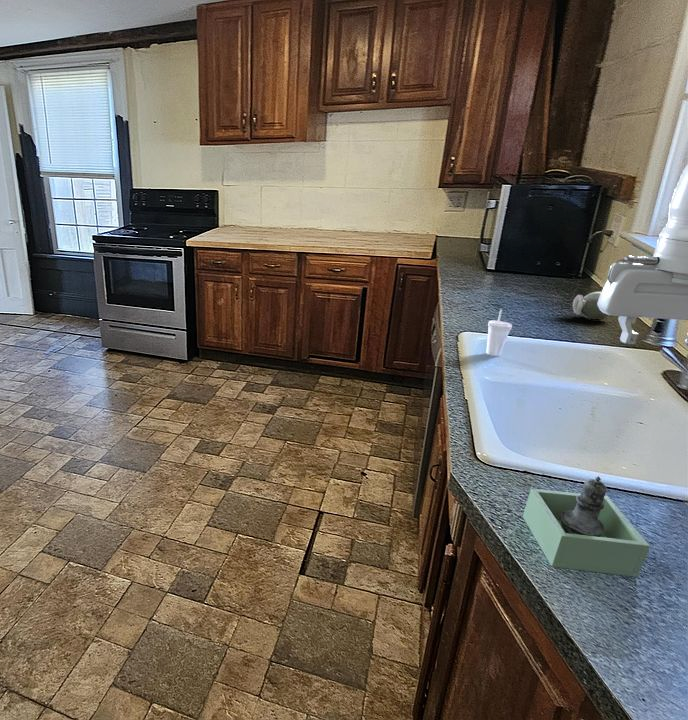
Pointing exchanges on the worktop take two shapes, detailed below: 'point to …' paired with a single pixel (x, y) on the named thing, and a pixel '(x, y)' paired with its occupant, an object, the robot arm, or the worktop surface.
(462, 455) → the worktop surface
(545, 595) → the worktop surface
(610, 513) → the bin
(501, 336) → the smoothie
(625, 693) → the worktop surface
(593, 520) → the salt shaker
